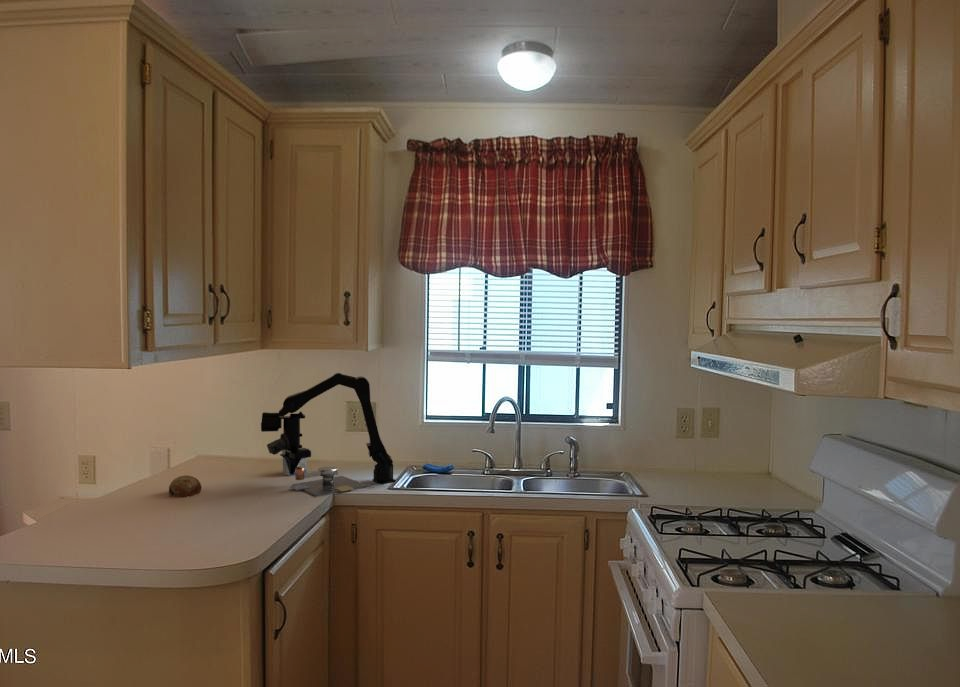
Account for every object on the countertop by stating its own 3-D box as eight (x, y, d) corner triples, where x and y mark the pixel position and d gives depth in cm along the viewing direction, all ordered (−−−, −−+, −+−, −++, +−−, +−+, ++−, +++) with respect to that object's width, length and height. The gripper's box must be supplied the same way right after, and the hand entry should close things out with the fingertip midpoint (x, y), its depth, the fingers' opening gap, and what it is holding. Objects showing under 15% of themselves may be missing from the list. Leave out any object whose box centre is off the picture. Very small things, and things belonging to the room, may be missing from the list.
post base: (341, 477, 234) (341, 468, 234) (369, 487, 219) (369, 478, 219) (285, 487, 219) (285, 477, 218) (311, 499, 204) (311, 488, 204)
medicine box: (289, 476, 234) (289, 453, 234) (282, 474, 237) (282, 452, 237) (306, 472, 241) (306, 450, 240) (299, 470, 243) (299, 449, 243)
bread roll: (167, 504, 209) (157, 485, 205) (191, 485, 217) (182, 466, 214) (186, 508, 204) (177, 489, 201) (210, 489, 212) (201, 470, 209)
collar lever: (332, 470, 228) (332, 460, 228) (341, 474, 223) (341, 463, 223) (291, 477, 217) (291, 466, 217) (300, 481, 212) (300, 470, 212)
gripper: (258, 429, 221) (258, 472, 222) (281, 437, 208) (281, 482, 208) (288, 426, 229) (288, 468, 229) (312, 433, 215) (311, 477, 216)
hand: (291, 474), depth 221 cm, fingers closed
